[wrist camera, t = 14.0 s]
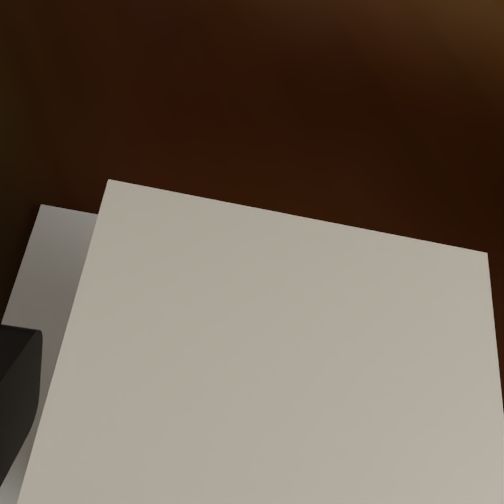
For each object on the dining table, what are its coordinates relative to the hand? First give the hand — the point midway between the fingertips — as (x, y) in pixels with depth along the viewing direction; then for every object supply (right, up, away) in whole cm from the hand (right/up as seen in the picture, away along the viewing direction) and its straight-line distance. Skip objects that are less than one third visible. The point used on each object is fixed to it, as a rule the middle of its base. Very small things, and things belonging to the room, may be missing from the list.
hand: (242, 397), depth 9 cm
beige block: (-1, -3, +5) cm, 6 cm away
